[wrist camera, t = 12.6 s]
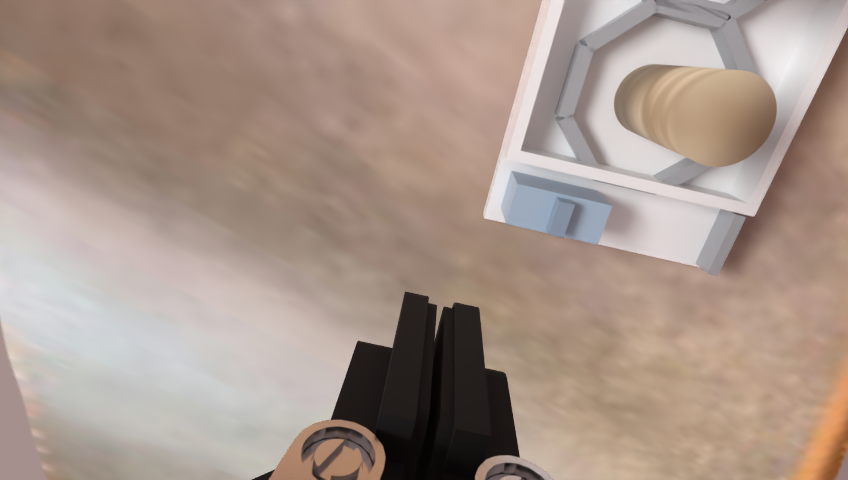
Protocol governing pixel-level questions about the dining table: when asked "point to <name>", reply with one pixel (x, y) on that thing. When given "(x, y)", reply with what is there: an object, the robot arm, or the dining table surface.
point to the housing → (639, 157)
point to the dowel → (698, 111)
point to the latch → (555, 207)
